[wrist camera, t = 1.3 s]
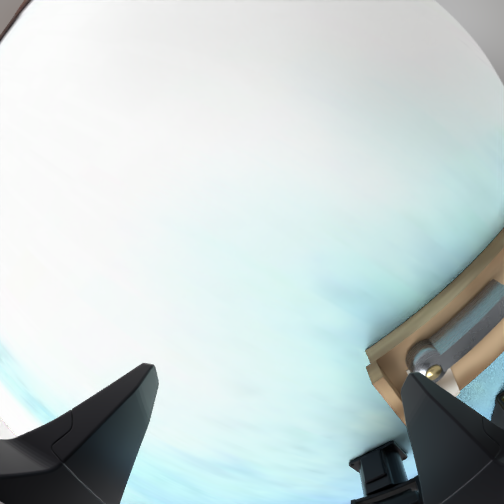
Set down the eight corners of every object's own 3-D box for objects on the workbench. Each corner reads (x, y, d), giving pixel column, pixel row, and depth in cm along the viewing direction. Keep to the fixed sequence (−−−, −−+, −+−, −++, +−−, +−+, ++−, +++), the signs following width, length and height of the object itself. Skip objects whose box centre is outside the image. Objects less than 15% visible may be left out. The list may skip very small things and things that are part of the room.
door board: (532, 301, 19) (553, 316, 15) (406, 414, 24) (417, 440, 20) (513, 216, 17) (541, 224, 13) (360, 353, 22) (372, 384, 18)
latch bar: (412, 375, 20) (423, 395, 17) (399, 355, 19) (411, 375, 17) (498, 299, 17) (516, 312, 15) (491, 274, 17) (510, 285, 14)
